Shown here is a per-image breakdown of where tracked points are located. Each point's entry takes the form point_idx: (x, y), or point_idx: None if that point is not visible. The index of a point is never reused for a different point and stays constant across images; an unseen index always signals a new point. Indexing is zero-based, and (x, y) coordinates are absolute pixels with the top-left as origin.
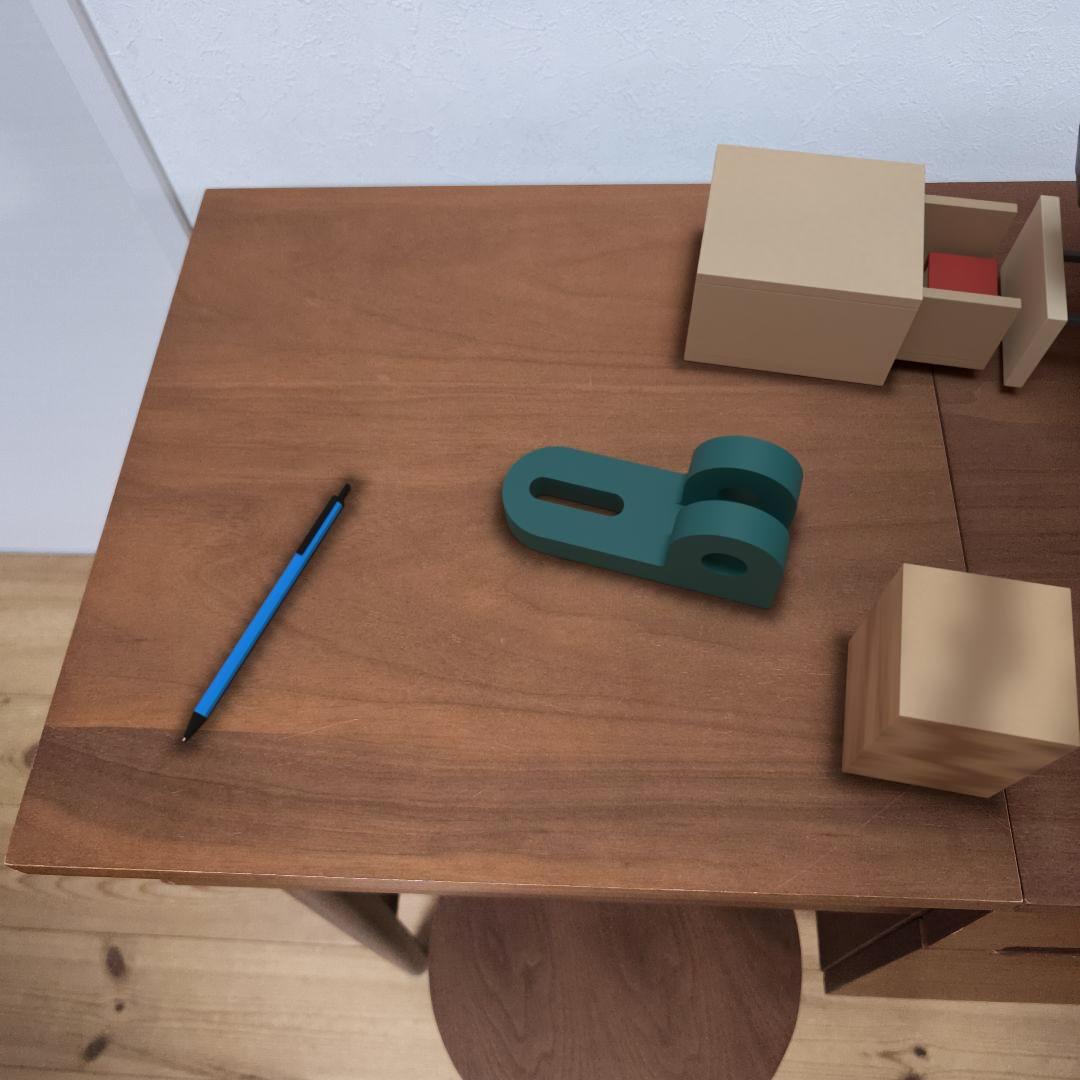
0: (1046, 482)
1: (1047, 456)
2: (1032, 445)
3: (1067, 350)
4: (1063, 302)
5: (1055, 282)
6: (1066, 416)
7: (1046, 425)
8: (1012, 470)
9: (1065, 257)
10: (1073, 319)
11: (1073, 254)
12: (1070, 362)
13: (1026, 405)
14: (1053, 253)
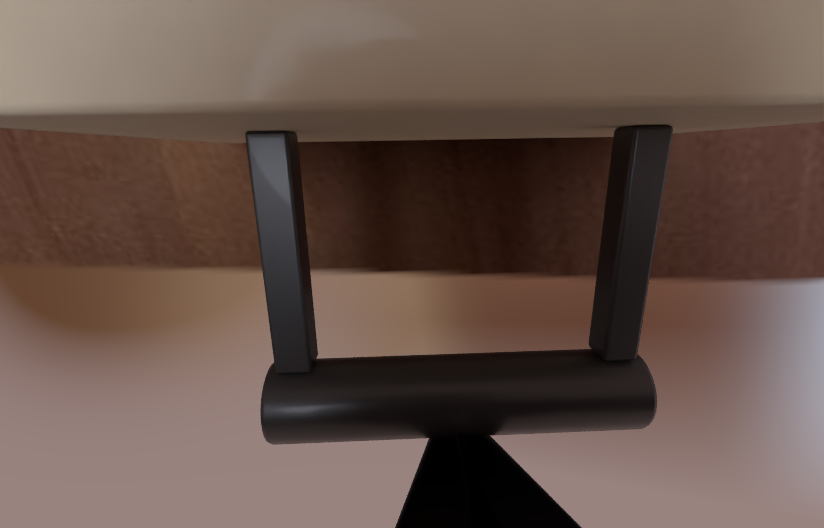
0: (11, 212)
1: (87, 216)
2: (105, 182)
3: (409, 265)
4: (27, 87)
5: (214, 25)
6: (217, 259)
7: (176, 215)
8: (9, 133)
9: (615, 211)
10: (260, 232)
11: (629, 242)
12: (375, 271)
13: (220, 170)
14: (530, 24)
